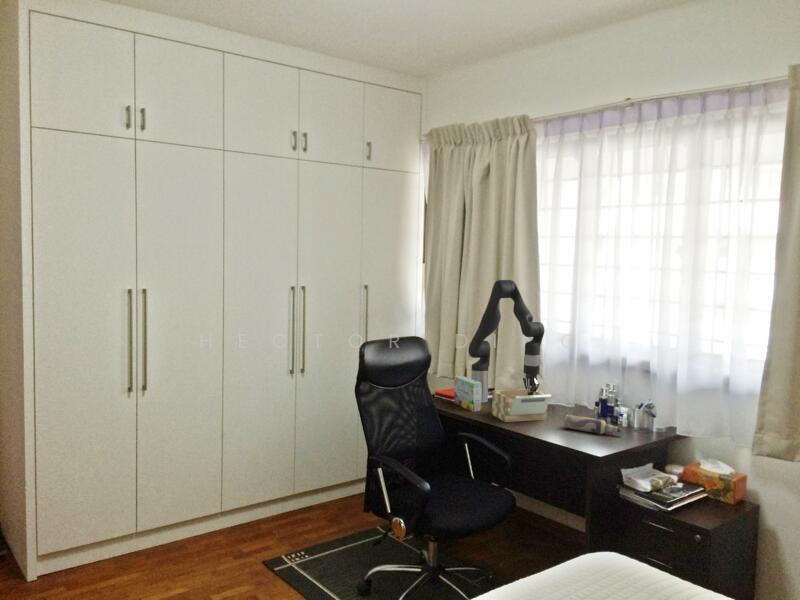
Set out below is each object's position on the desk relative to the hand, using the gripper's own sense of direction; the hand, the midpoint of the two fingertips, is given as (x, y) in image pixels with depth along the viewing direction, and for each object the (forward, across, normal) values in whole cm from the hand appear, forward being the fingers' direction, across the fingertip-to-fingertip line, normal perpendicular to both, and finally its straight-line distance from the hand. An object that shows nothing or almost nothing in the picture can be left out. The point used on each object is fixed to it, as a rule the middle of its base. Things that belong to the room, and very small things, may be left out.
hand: (530, 399), depth 322 cm
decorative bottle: (+11, +23, +19) cm, 32 cm away
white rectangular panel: (+8, -3, 0) cm, 9 cm away
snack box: (+12, -36, -17) cm, 42 cm away
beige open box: (+11, -11, 0) cm, 16 cm away
